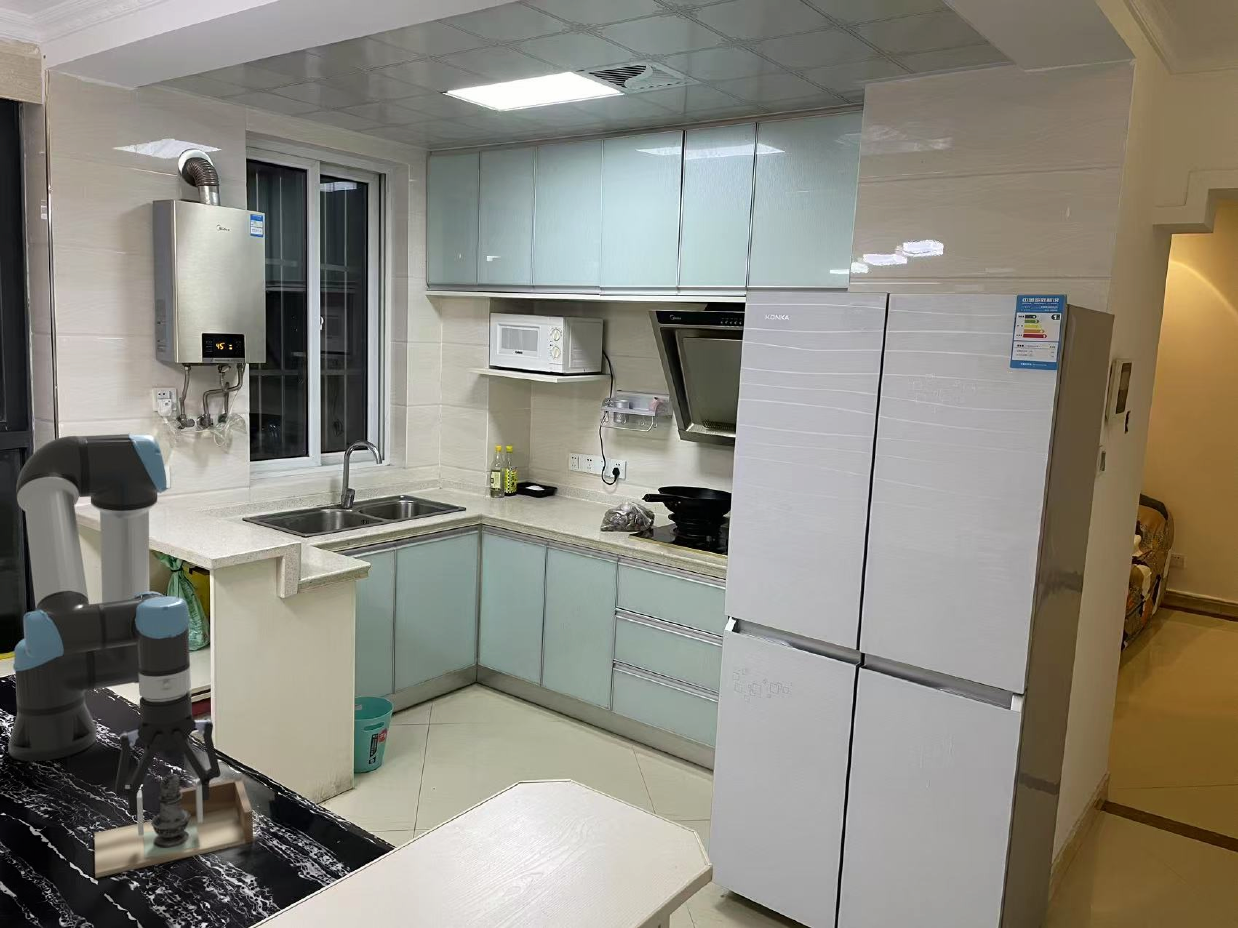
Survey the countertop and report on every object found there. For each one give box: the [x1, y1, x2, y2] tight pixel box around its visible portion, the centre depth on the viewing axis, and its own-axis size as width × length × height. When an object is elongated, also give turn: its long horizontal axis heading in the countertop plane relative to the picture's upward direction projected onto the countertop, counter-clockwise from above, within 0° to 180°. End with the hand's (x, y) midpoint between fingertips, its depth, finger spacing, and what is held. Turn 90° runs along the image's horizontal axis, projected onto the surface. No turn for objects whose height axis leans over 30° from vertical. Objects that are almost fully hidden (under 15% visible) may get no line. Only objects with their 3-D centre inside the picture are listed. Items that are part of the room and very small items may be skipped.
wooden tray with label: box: [94, 777, 254, 879], centre depth 154 cm, size 13×23×6 cm, turn 120°
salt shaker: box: [150, 770, 190, 848], centre depth 152 cm, size 6×6×12 cm
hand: (170, 824), depth 153 cm, fingers open, 8 cm apart
